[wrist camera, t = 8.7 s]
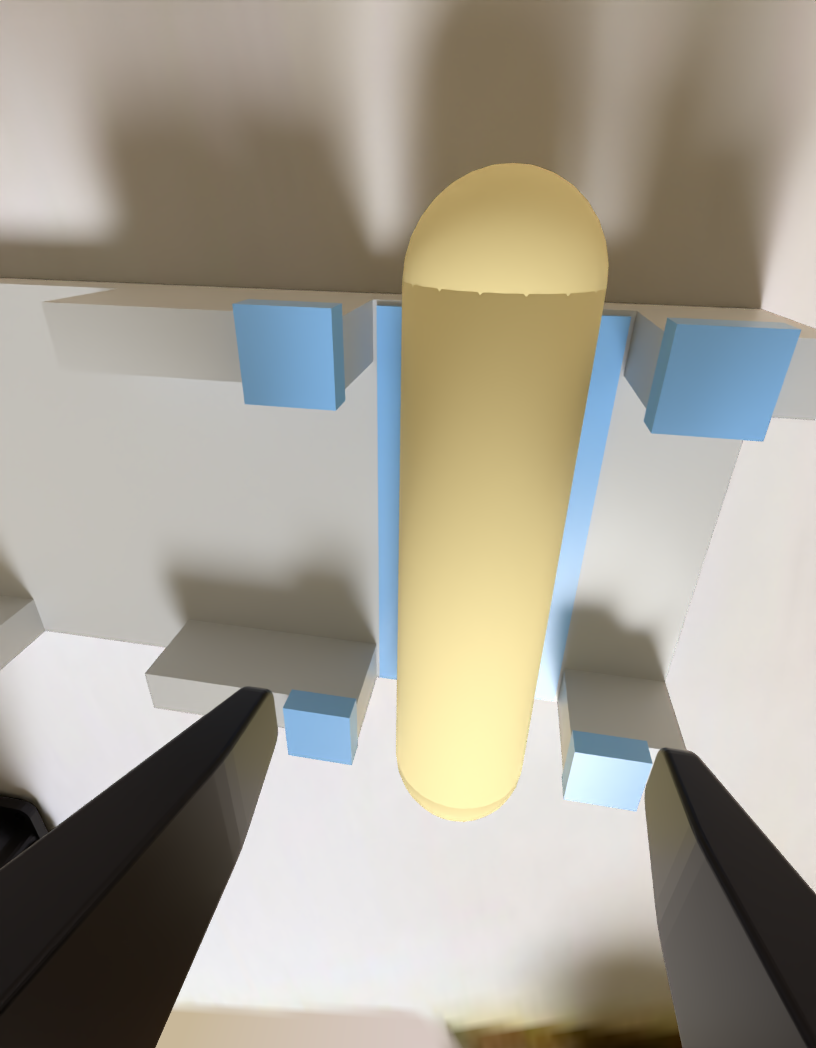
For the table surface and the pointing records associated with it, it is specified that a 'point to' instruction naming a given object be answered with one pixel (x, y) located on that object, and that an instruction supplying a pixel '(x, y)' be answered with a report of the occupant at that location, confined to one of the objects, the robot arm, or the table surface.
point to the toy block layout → (351, 499)
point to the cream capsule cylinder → (487, 467)
